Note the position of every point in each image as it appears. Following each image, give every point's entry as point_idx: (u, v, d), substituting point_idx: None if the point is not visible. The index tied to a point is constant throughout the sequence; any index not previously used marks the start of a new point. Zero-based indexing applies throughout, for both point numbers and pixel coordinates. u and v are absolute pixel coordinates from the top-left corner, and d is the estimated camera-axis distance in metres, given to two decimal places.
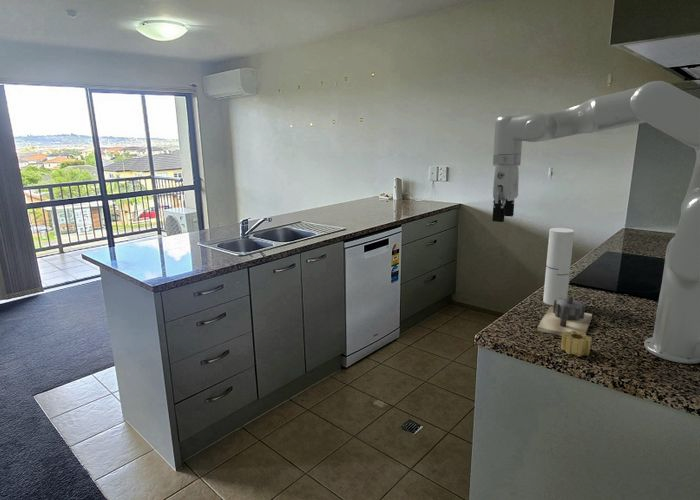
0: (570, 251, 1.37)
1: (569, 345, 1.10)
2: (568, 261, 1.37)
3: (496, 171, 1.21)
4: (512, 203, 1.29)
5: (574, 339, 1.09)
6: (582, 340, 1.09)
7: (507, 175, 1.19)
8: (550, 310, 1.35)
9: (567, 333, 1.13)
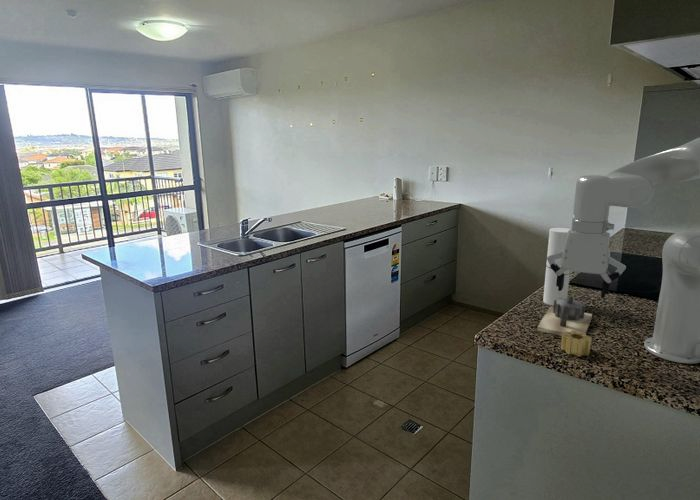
0: None
1: (569, 345, 1.10)
2: None
3: (607, 241, 1.01)
4: (563, 273, 1.11)
5: (574, 339, 1.09)
6: (582, 340, 1.09)
7: None
8: (550, 310, 1.35)
9: (567, 333, 1.13)
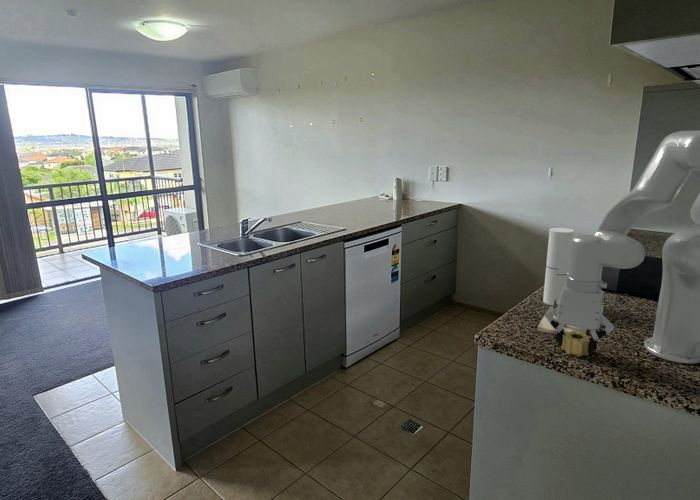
0: None
1: (569, 345, 1.10)
2: None
3: (600, 299, 1.05)
4: (562, 329, 1.14)
5: (574, 339, 1.09)
6: (582, 340, 1.09)
7: None
8: (550, 310, 1.35)
9: (567, 333, 1.13)
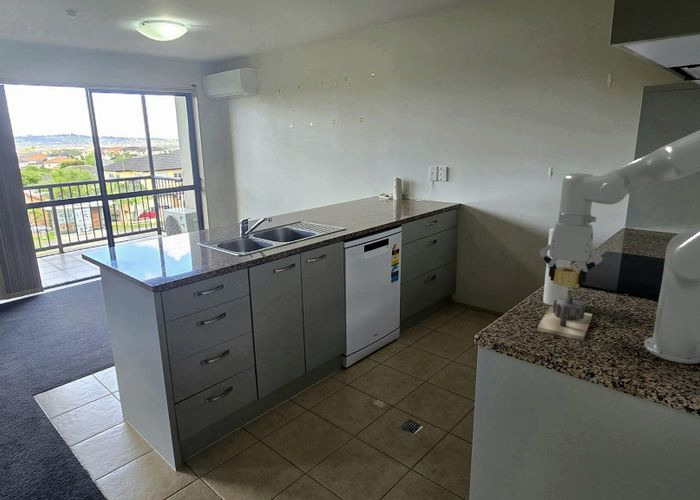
0: None
1: (560, 277, 1.18)
2: (568, 261, 1.37)
3: (590, 232, 1.13)
4: (555, 265, 1.22)
5: (565, 272, 1.18)
6: (573, 272, 1.17)
7: None
8: (550, 310, 1.35)
9: (559, 268, 1.21)
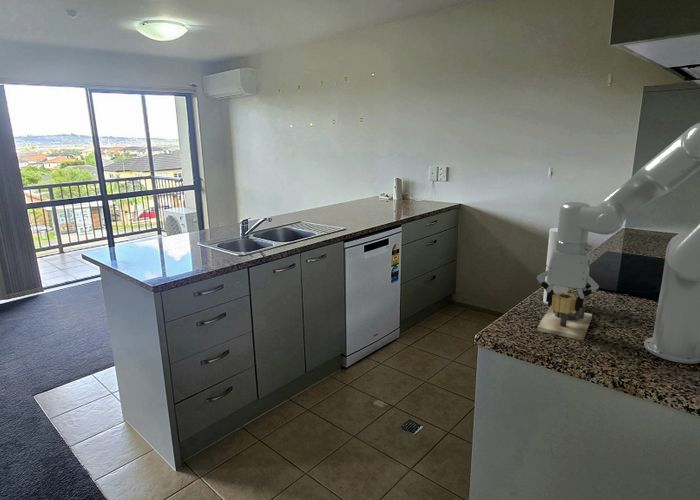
0: None
1: (558, 303, 1.20)
2: None
3: (586, 260, 1.15)
4: None
5: (562, 298, 1.20)
6: (569, 299, 1.19)
7: None
8: (550, 310, 1.35)
9: (556, 293, 1.23)
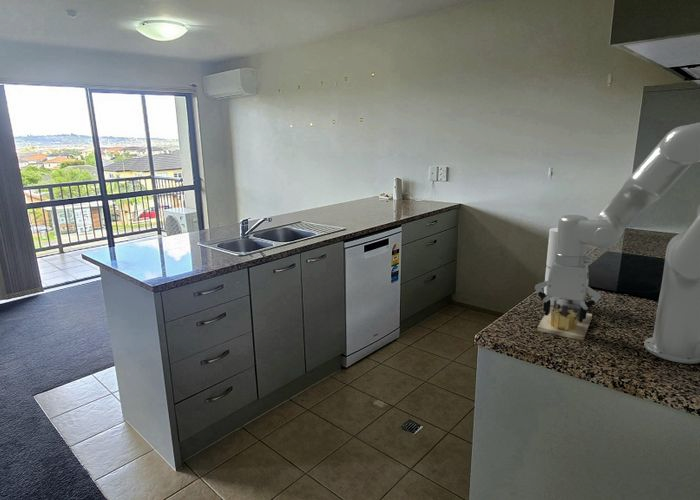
0: None
1: (557, 320, 1.21)
2: None
3: (585, 273, 1.16)
4: (549, 300, 1.26)
5: (562, 315, 1.21)
6: (569, 316, 1.20)
7: None
8: (550, 310, 1.35)
9: (556, 310, 1.24)
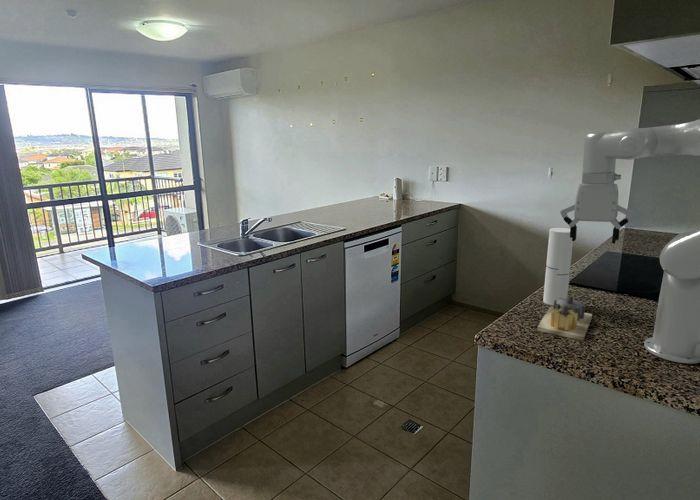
0: (570, 251, 1.37)
1: (557, 320, 1.21)
2: (568, 261, 1.37)
3: (616, 190, 1.11)
4: None
5: (562, 315, 1.21)
6: (569, 316, 1.20)
7: None
8: (550, 310, 1.35)
9: (556, 310, 1.24)
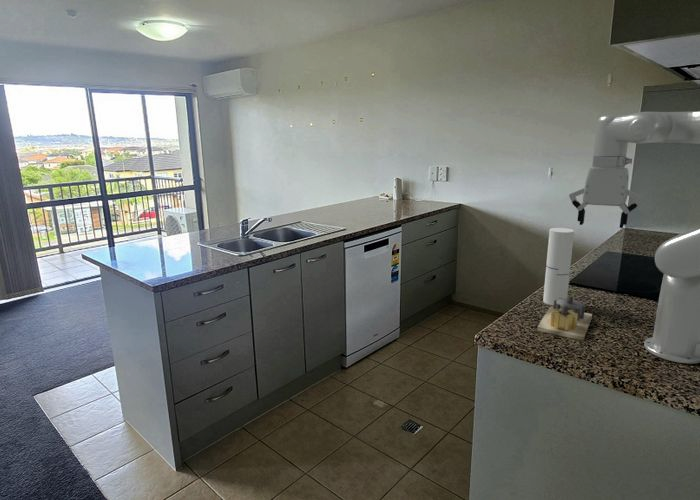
0: (570, 251, 1.37)
1: (557, 320, 1.21)
2: (568, 261, 1.37)
3: (626, 174, 1.11)
4: (583, 209, 1.21)
5: (562, 315, 1.21)
6: (569, 316, 1.20)
7: None
8: (550, 310, 1.35)
9: (556, 310, 1.24)
